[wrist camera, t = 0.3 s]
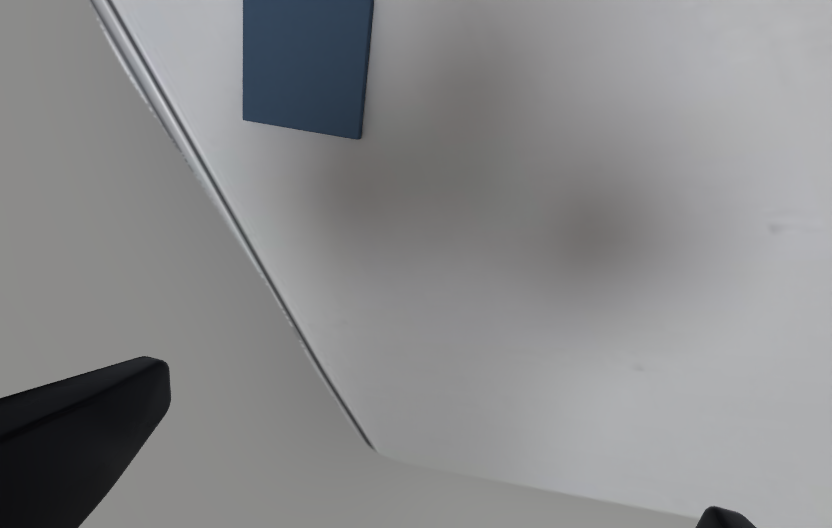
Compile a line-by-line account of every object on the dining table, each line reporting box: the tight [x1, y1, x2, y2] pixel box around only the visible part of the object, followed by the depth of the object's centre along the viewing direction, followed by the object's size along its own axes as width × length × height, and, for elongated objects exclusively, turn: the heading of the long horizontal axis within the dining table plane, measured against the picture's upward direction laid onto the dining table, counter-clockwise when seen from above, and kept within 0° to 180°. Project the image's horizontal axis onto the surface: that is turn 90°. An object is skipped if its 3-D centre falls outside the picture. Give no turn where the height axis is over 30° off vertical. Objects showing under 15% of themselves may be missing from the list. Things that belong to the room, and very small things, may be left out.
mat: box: [243, 0, 374, 139], centre depth 22 cm, size 6×6×1 cm
